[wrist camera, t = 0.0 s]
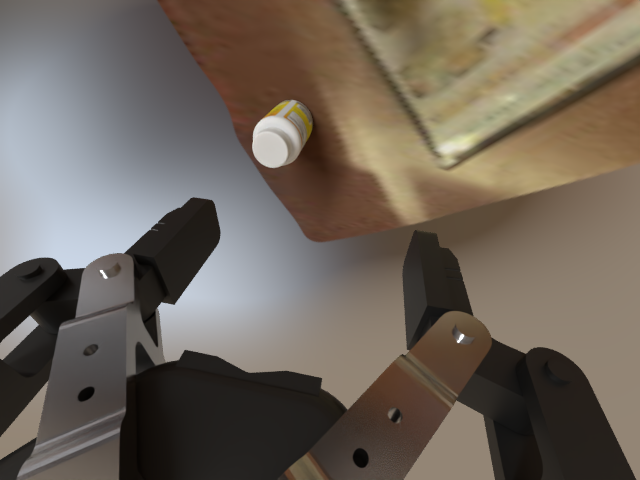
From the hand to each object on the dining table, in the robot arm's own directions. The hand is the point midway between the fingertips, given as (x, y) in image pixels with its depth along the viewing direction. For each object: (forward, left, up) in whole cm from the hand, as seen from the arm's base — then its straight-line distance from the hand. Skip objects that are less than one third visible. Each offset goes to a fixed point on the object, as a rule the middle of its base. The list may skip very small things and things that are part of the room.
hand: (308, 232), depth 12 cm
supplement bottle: (+5, -8, -30) cm, 31 cm away
